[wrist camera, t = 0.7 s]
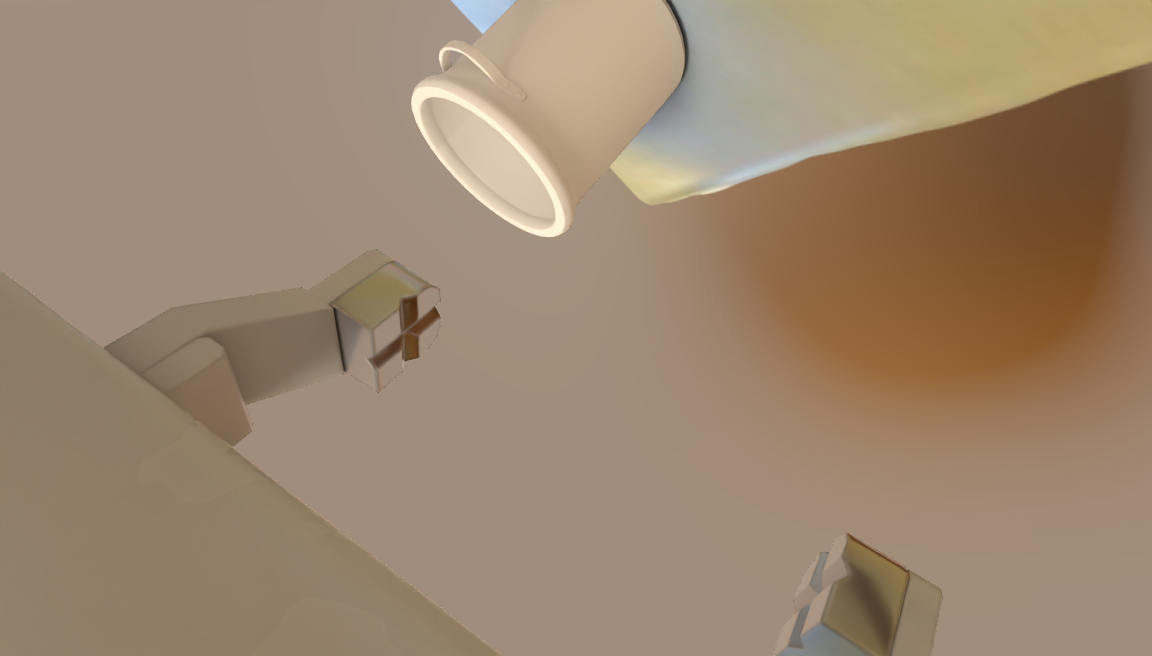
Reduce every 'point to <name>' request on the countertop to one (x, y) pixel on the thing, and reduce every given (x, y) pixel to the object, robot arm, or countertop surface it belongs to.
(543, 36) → the bucket
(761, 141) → the countertop surface
